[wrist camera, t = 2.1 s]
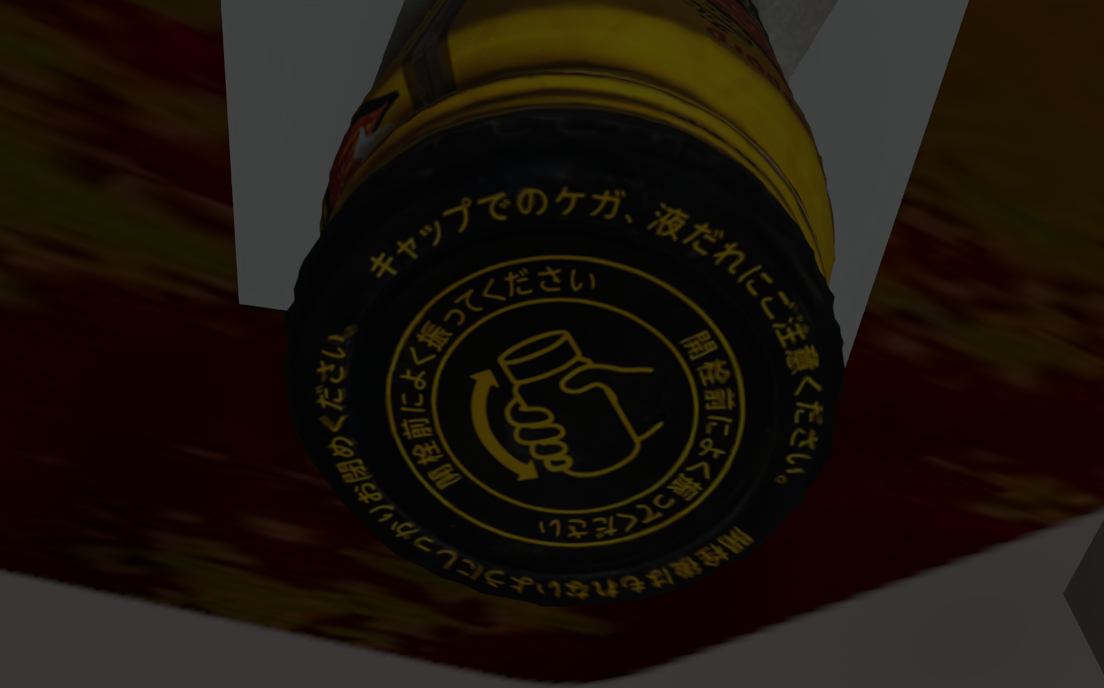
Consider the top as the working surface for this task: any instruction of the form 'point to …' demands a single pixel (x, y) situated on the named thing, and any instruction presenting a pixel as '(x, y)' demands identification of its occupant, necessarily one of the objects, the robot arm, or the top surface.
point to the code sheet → (356, 54)
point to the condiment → (574, 295)
